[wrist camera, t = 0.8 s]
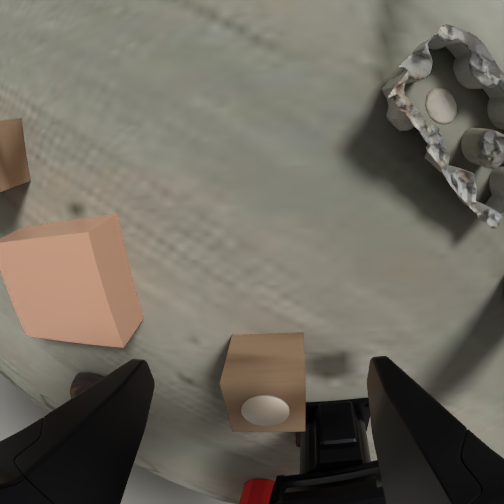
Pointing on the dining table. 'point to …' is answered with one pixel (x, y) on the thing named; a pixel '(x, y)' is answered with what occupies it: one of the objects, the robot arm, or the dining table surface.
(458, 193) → the egg carton
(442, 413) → the robot arm
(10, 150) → the tagged walnut block
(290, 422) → the tagged walnut block
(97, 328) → the terracotta slab
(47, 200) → the dining table surface
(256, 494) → the french fries
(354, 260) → the dining table surface
